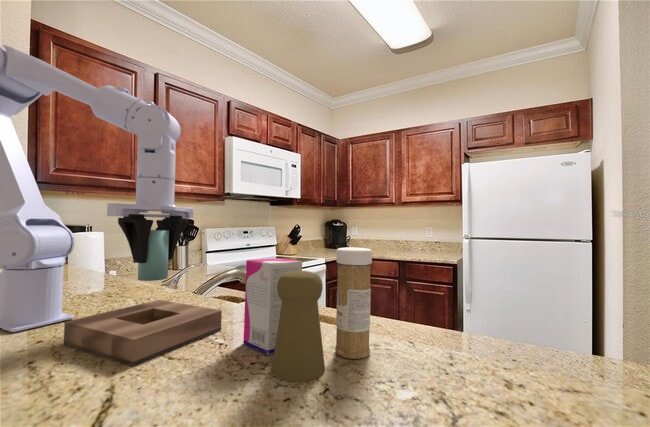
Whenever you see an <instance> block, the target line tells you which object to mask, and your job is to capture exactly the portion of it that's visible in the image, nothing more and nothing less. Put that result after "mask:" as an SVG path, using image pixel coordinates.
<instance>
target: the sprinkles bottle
mask: <svg viewBox="0 0 650 427" xmlns="http://www.w3.org/2000/svg"><path fill="white" fill-rule="evenodd" d="M335 258H336V263H337V289H336V315H335V316H336V319H335V320H336V322H335V323H336V324H335V325H336V336H335V337H336V339H335V340H336V341H335V348H334V351H335V353H336V355H337V356H339V357H341V358H345V359H349V360H350V359H353V360H354V359H357V360H358V359H364V358H366V357H368V356H369V355H370V354H371V349H370V329H371V301H372V300H371V297H372V296H371V295H372V294H371V290H372V289H371V268H372V263H373V251H372V250H371V248H366V247H356V246H355V247H352V246H350V247H339V248H337V249H336V257H335Z"/></svg>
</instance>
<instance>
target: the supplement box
mask: <svg viewBox="0 0 650 427" xmlns="http://www.w3.org/2000/svg"><path fill="white" fill-rule="evenodd" d="M245 263H246V264H245V265H246V266H245V292H244V315H243V316H244V318H243V322H244V324H243V325H244V326H243V341H242V342H243V345H245V346H247V347H250V348H252V349H254V350H255V351H258V352H260V353H263V354H264V355H267V356H270V355H272V354H273V355H274V351H275V344H276V338H277V331H278V324H279V317H280V311H281V304H282V300H281V299H280V297H279V296H278V292H277V284H278V280H279V278H280V277H281V275H283V274H284V273H287V272H292V271H303V261H302V260H296V259H286V258H279V257H278V258H277V257H275V258H261V259H247V260H246V262H245Z"/></svg>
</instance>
